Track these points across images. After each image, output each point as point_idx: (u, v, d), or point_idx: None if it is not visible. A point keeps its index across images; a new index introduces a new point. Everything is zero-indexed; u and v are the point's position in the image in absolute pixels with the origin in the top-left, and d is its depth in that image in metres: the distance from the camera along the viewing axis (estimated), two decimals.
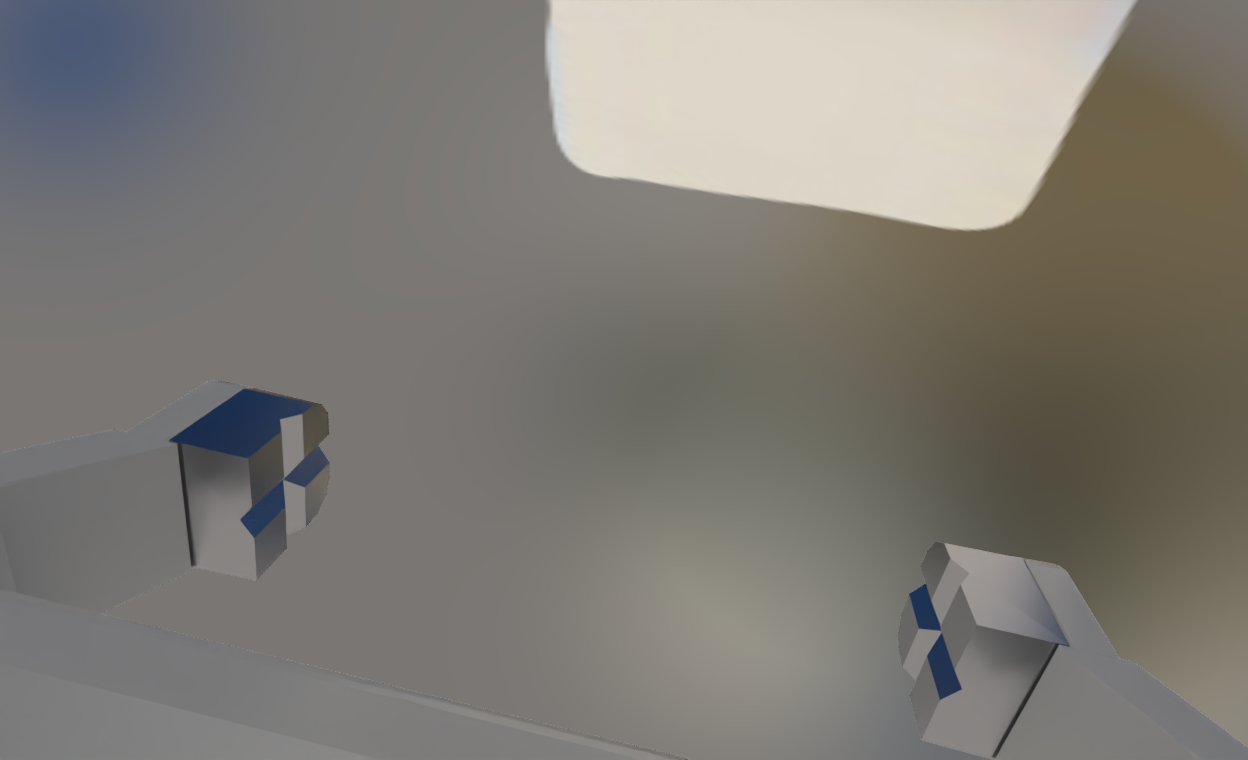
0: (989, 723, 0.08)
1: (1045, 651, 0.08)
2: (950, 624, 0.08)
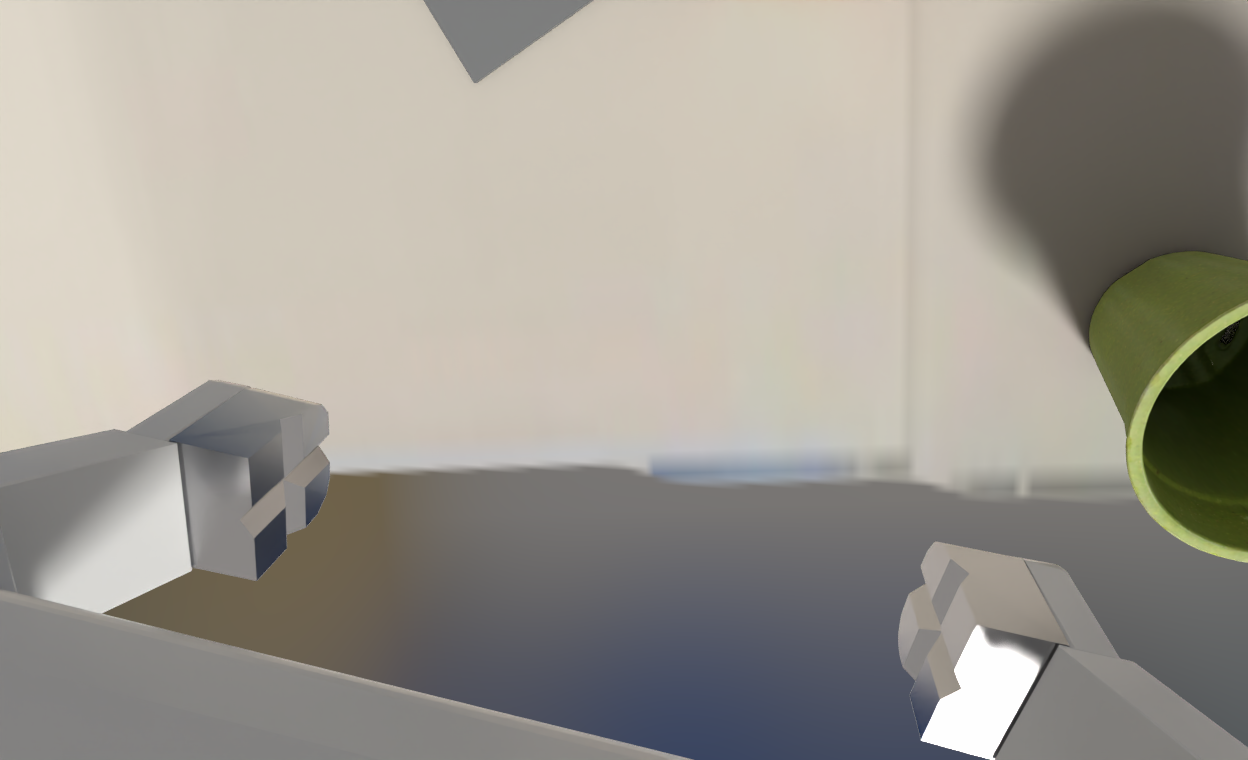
0: (989, 723, 0.08)
1: (1045, 651, 0.08)
2: (950, 624, 0.08)
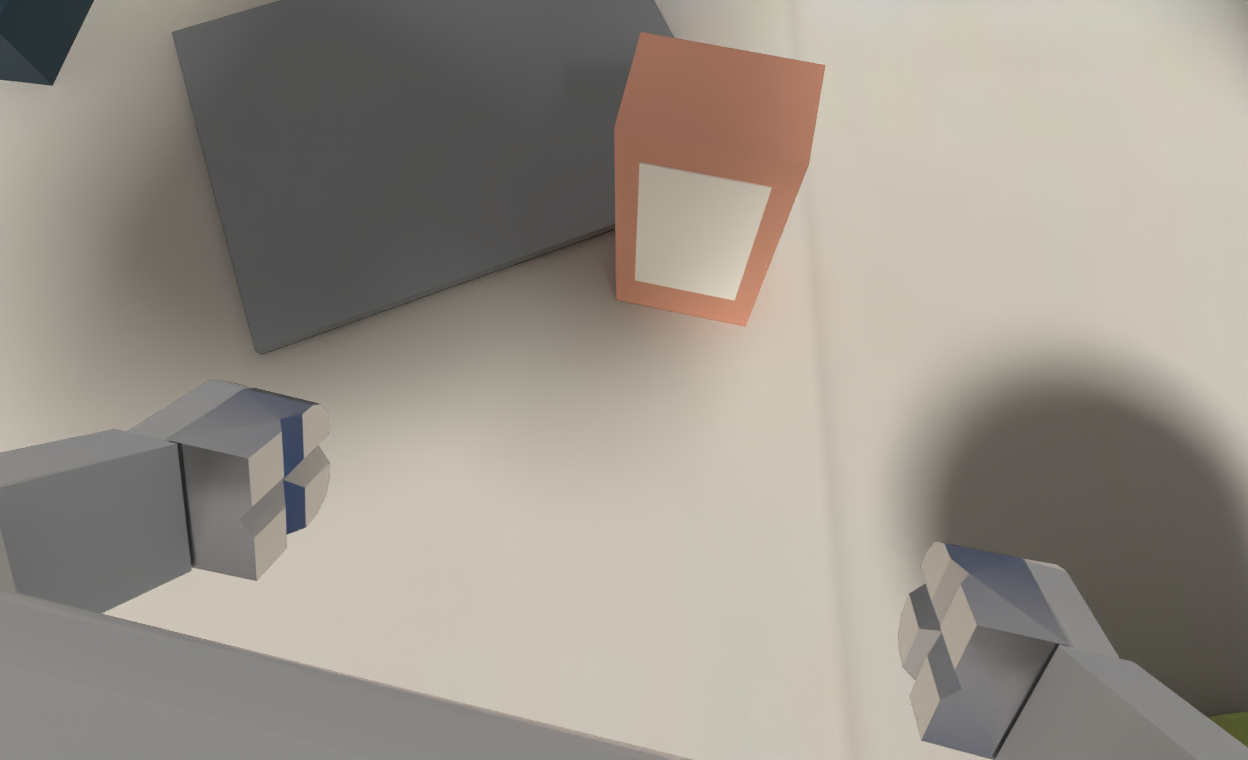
0: (989, 723, 0.08)
1: (1045, 651, 0.08)
2: (950, 624, 0.08)
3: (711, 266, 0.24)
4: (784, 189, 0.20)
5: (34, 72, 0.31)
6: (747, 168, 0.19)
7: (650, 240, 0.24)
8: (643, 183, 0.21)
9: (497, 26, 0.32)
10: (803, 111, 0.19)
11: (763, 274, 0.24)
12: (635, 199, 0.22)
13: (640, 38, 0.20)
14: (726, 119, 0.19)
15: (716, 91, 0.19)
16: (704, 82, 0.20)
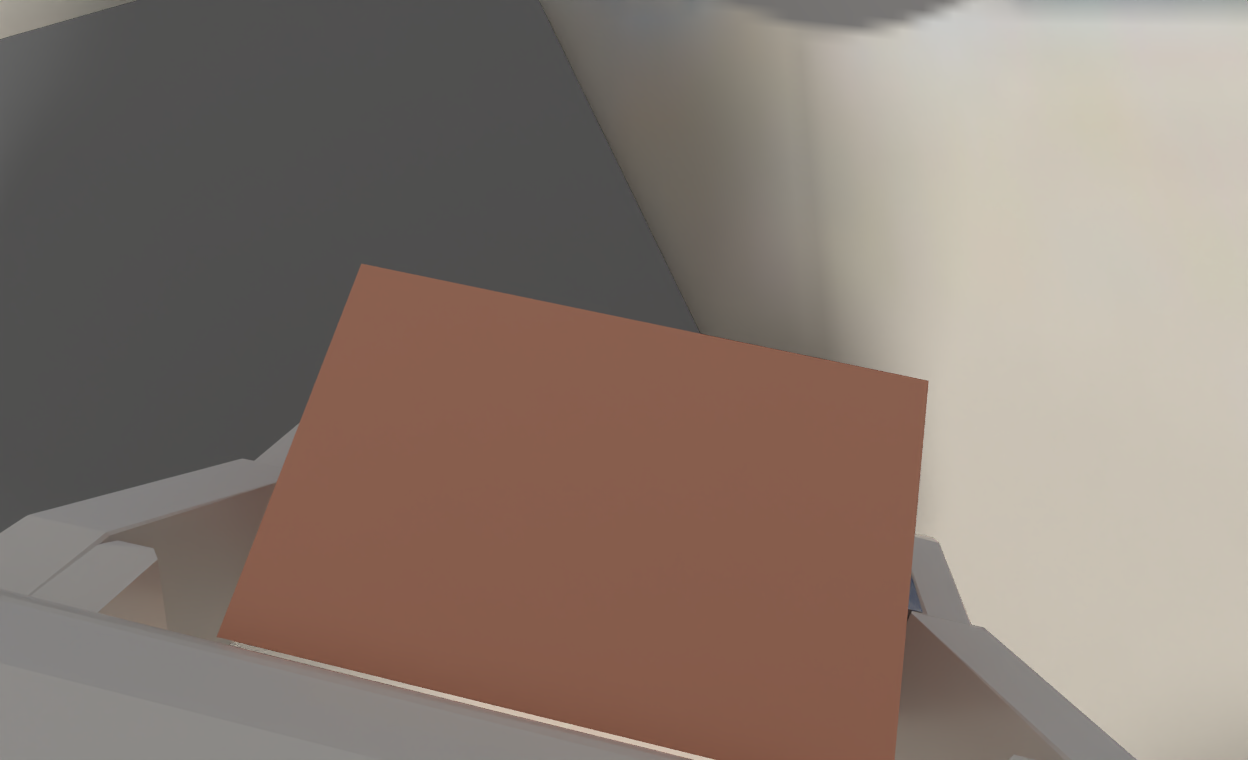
0: None
1: None
2: None
3: None
4: None
5: None
6: None
7: None
8: None
9: (296, 104, 0.19)
10: (865, 564, 0.06)
11: None
12: None
13: (358, 285, 0.07)
14: (605, 599, 0.06)
15: (578, 483, 0.06)
16: (541, 448, 0.06)
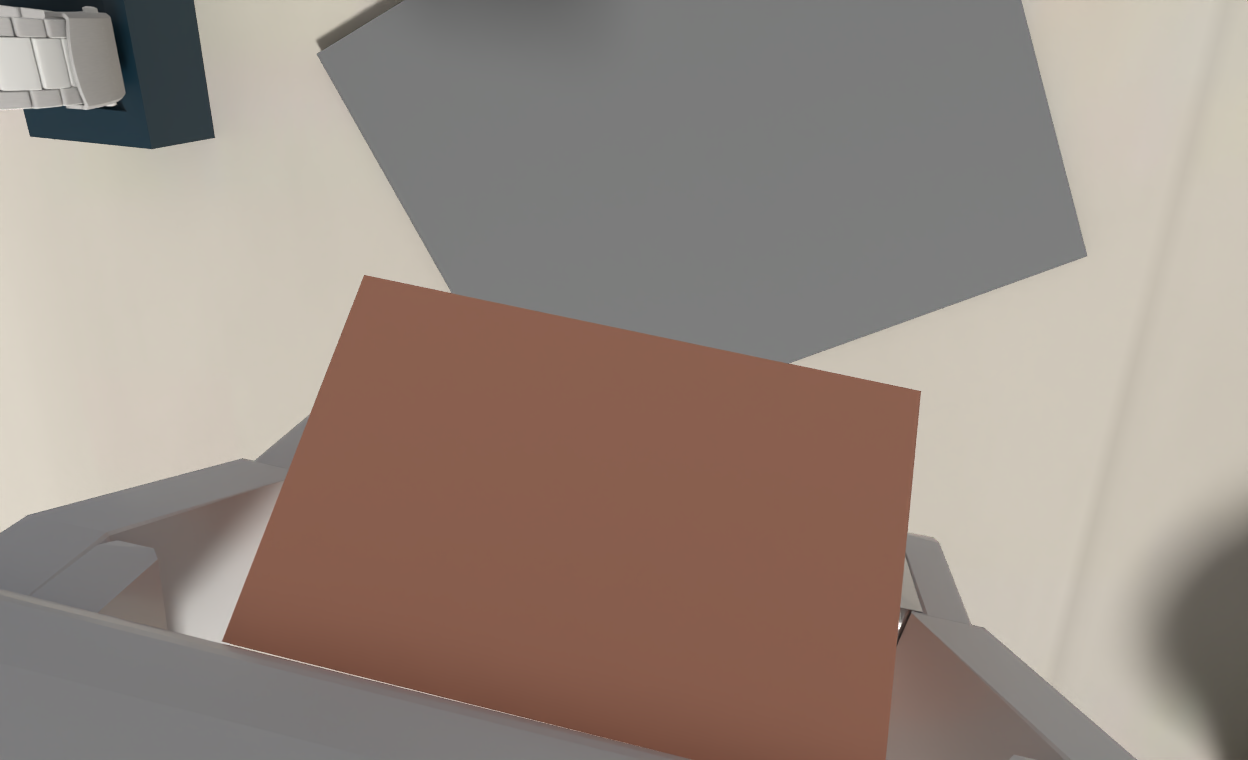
0: None
1: (903, 618, 0.08)
2: None
3: None
4: None
5: None
6: None
7: None
8: None
9: (749, 10, 0.22)
10: (857, 572, 0.06)
11: None
12: None
13: (360, 296, 0.07)
14: (601, 606, 0.06)
15: (576, 492, 0.06)
16: (540, 457, 0.06)
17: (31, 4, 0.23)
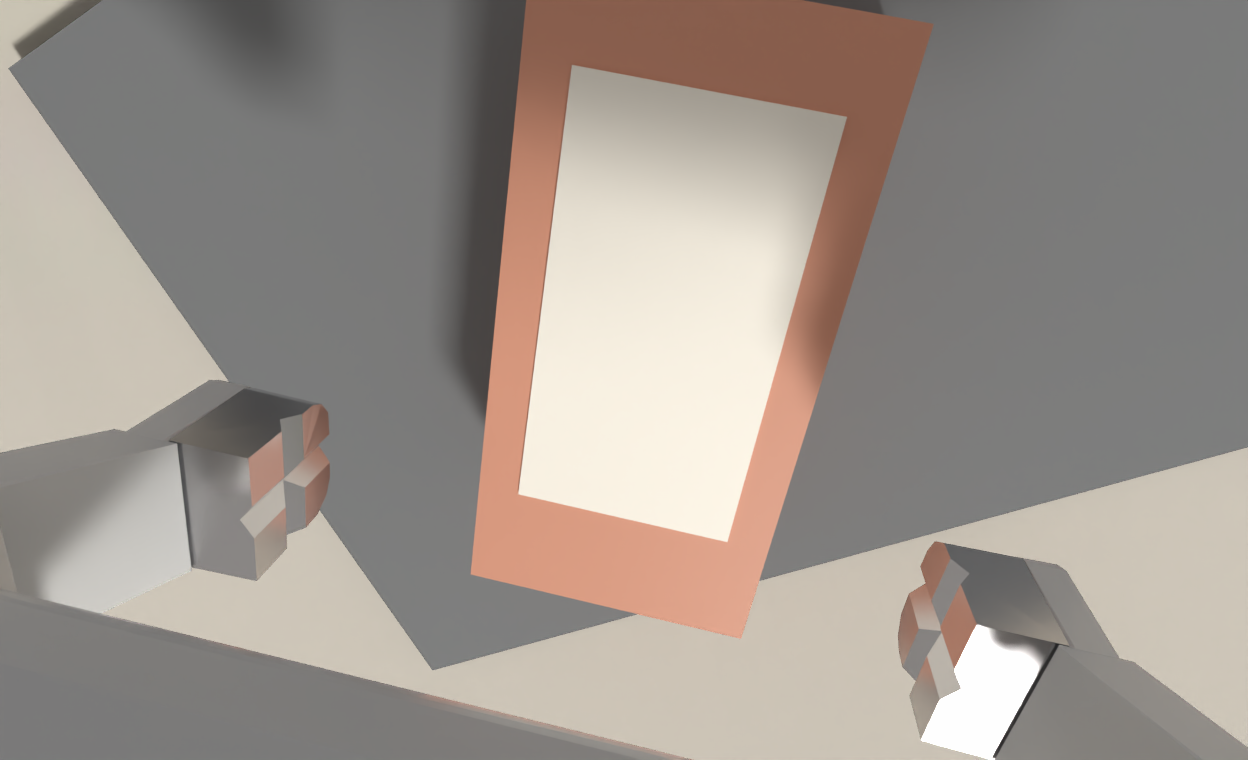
0: (989, 723, 0.08)
1: (1045, 651, 0.08)
2: (950, 623, 0.08)
3: (689, 423, 0.12)
4: (873, 121, 0.09)
5: None
6: (800, 57, 0.09)
7: (565, 346, 0.11)
8: (572, 137, 0.10)
9: None
10: None
11: (798, 439, 0.11)
12: (549, 201, 0.11)
13: None
14: None
15: None
16: None
17: None
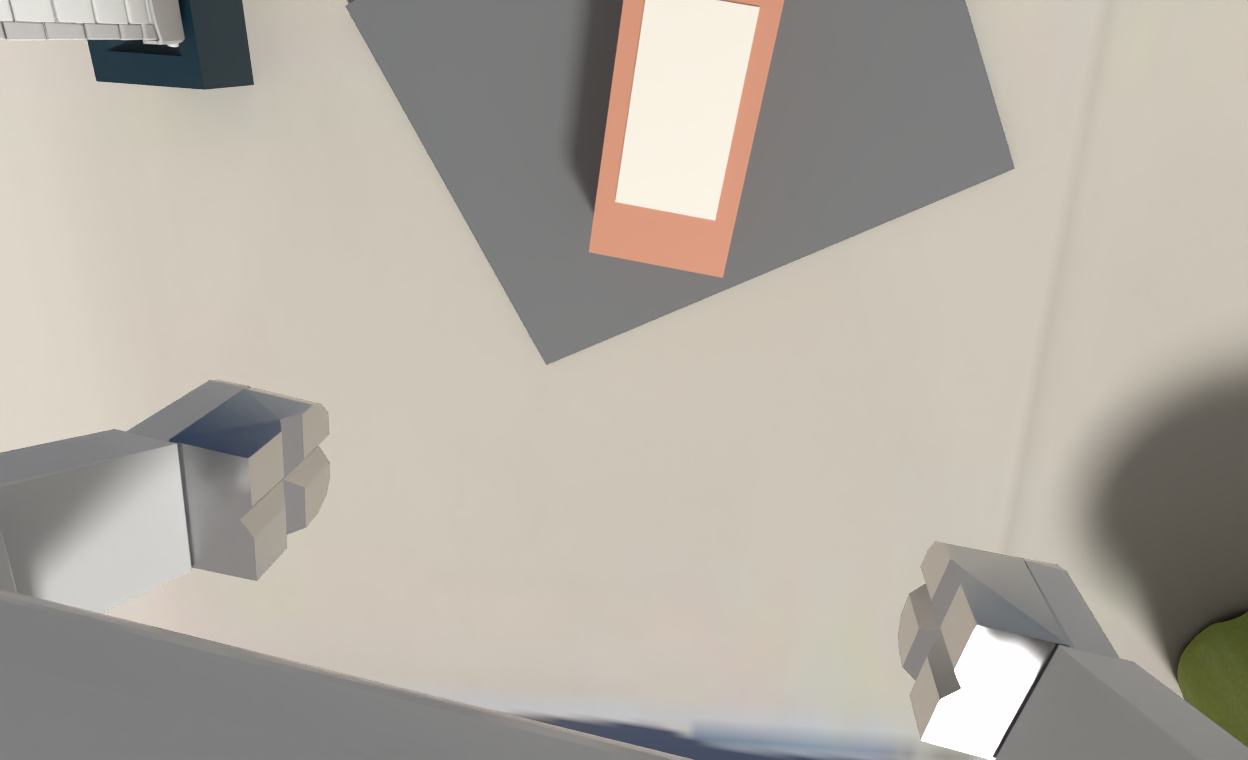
0: (989, 723, 0.08)
1: (1045, 651, 0.08)
2: (950, 623, 0.08)
3: (696, 156, 0.25)
4: (770, 8, 0.23)
5: None
6: None
7: (640, 120, 0.25)
8: (646, 20, 0.24)
9: None
10: None
11: (746, 162, 0.25)
12: (635, 50, 0.24)
13: None
14: None
15: None
16: None
17: None
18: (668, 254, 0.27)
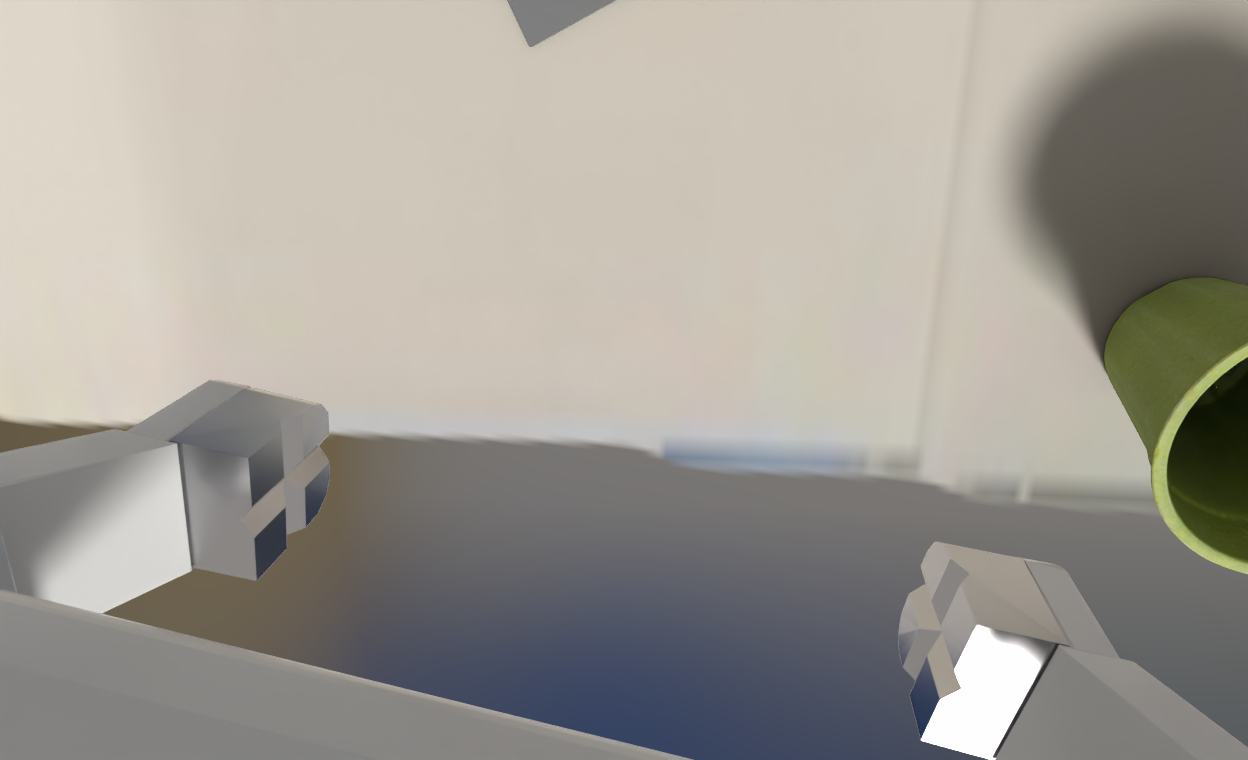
0: (989, 723, 0.08)
1: (1045, 650, 0.08)
2: (950, 624, 0.08)
3: None
4: None
5: None
6: None
7: None
8: None
9: None
10: None
11: None
12: None
13: None
14: None
15: None
16: None
17: None
18: None
